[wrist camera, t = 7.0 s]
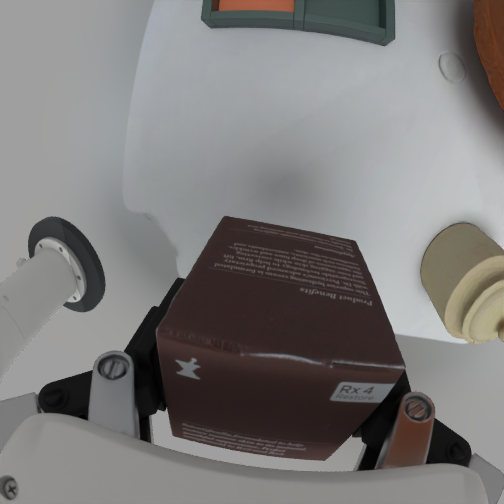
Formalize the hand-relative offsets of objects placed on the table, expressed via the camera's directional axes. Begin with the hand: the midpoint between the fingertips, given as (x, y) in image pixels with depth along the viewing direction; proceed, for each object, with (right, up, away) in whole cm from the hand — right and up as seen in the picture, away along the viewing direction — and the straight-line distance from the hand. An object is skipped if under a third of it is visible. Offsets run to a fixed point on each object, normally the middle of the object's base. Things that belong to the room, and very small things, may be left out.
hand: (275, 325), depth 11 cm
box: (0, +2, +3) cm, 3 cm away
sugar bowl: (+27, +2, +19) cm, 33 cm away
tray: (+4, +28, +8) cm, 30 cm away
